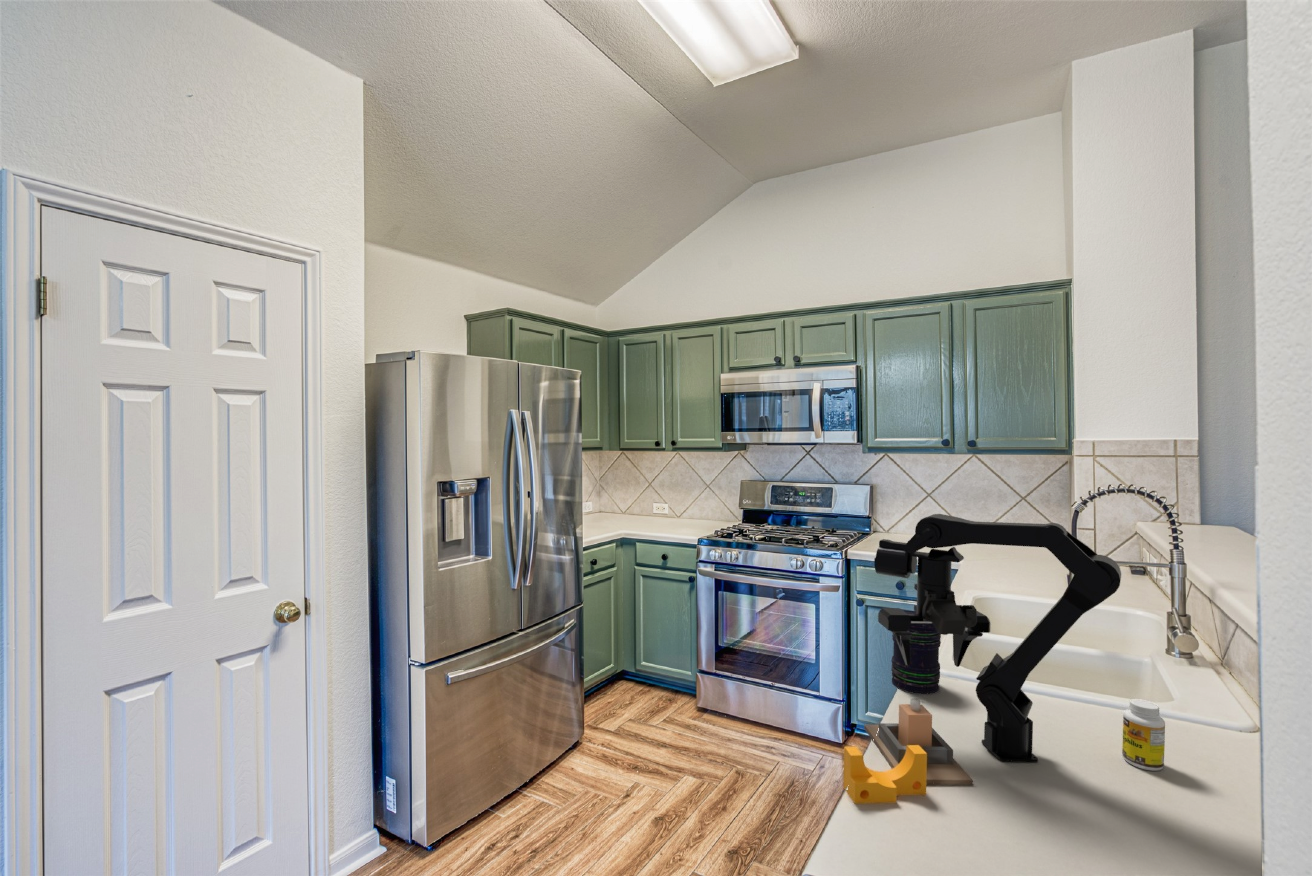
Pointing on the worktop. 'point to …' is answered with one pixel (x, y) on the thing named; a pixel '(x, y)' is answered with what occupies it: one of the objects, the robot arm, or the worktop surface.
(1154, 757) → the supplement bottle
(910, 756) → the pipe clamp
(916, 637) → the storage jar
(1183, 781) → the worktop surface
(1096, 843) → the worktop surface
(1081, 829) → the worktop surface
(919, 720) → the connector
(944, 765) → the end holder
